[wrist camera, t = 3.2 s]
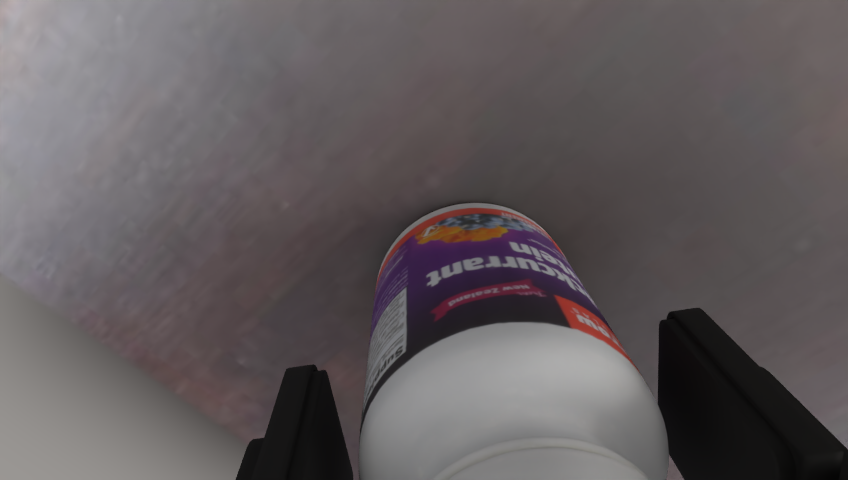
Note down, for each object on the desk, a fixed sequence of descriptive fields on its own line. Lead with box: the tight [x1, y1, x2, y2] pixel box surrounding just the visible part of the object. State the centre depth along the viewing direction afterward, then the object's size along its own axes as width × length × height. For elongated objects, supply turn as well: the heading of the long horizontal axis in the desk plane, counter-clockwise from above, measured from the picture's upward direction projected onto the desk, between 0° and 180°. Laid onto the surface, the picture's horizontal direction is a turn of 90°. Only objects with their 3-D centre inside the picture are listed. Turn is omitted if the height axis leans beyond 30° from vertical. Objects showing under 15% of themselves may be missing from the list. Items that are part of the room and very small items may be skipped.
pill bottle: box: [359, 203, 669, 480], centre depth 12 cm, size 5×5×10 cm
